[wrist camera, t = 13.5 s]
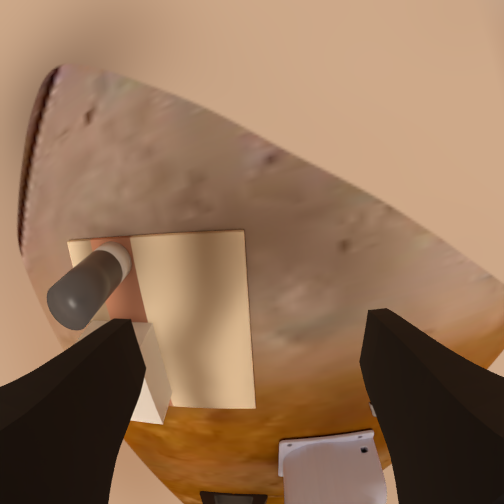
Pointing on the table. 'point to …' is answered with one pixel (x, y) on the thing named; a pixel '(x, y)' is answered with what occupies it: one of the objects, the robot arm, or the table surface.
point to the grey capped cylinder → (88, 285)
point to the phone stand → (232, 498)
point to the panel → (189, 310)
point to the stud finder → (147, 374)
